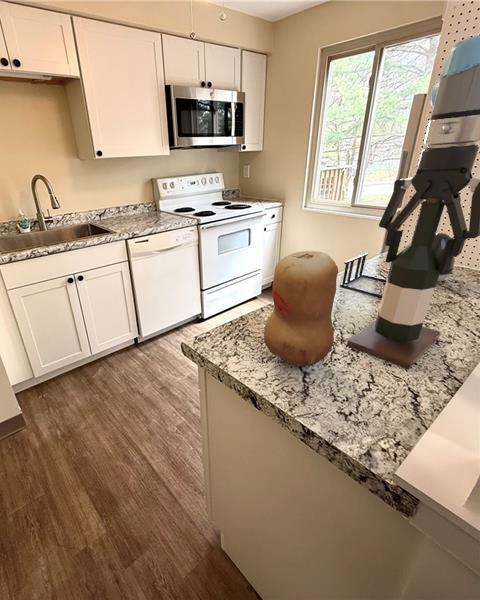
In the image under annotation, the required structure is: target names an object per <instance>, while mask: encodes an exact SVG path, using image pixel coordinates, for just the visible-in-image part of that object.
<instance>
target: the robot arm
mask: <svg viewBox="0 0 480 600" xmlns="http://www.w3.org/2000/svg"><path fill="white" fill-rule="evenodd" d="M430 104H431V107H432V111H431V115H430V120H429V121H428V122H429V123H428V126H427V130H426V134H425V139H424V142H423V145H424V146H427V147H426V148H423V149H422V150H421V152H420V157H419V161H418V164H417V169H416V172H415V174H414V175H413V176H412V177H410V178H409V177H408V178H406V177H404V178H399V179H396V180H395V181H394V182H393V192H392V194H391V197H390V199H389V201H388V203H387V206H386V208H385V210H384V212H383V214H382V216H381V219H380V220H379V223H378V226H379V228H381V229H382V228H383V229H384V230H386V231H387V234H386V238H385V241H384V246H386V247H388V249H387V250H388V251H387V254H386V257H385V263H389V264H391V262H392V259H393V258H395V257H396V256H397V255H398V252H399V248H400V244H401V240H402V238H403V237H402V236H403V232H404V230H400V229H401V228H402V226H403V224H405V222H406V221H407V220H408V218H410V217H411V215H412V214H413V213H414V212H415V210H416V209H418V207H419V206H420V205H421V204H422V202H423V201H426V200H427V199H428V198H437V200H441V201H444V204H445V205H444V207H446V211H447V215H448V219H449V223H450V227H451V230H452V231H451V232H452V236H453V237H451V238H450V239H448V241H447V244H446V247H445V250H444V253H443V256H442V259H441V262H440V265H439V268H438V272H439V273H443V272H445V271H447V270H448V268H449V266H450V263H451V260H452V257H453V256H454V257H455V258H456V257H458V256H460V255H461V254H462V251H463V249H464V246H465V243H466V240H469V239H476V238H478V237H480V178H475V177H474V176H473V174H472V170H473V167H474V164H475V161H476V158H477V156H478V152H479V148H480V146H479V145H478V144H477V142H480V34H477V35H474V36H470V37H469V38H465V39H462V40H460V41H458V42H457V43H455V44H454V45H452V47H451V48H450V50H449V51H448V54H447V56H446V59H445V61H444V64H443V68H442V71H441V73H440V76H439V79H438V81H437V82H436V83H435V84H434V86H433V87H432V90H431V93H430ZM411 185H412V186H413V189H414V190H415V193H414V194H413V195H412V196H411V198H410V199H409V200H408V203H406V205H405V206H404V207H403V209H401V211H400V212H399V213H398V215H397V216H396V217H395V215H396V213H397V211H398V209H399V207H400V205H401V203H402V201H403V198H404V197H405V194H406V192H407V190H408V189H409V188H410V187H411ZM468 186H469V187H470V192H472V196H471V204H470V214H469V226H468V227H467V224H466V219H465V214H464V211H463V206H462V203H461V200H462V199H461V194H460V192H461V191H462V190H463V189H465V188H466V187H468ZM394 217H395V218H394Z"/></svg>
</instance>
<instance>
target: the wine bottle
mask: <svg viewBox="0 0 480 600" xmlns="http://www.w3.org/2000/svg"><path fill="white" fill-rule="evenodd" d="M420 205H421V207H420V210H419V213H418V215H417V221H416V224H415V227H414V231H413V234H412V237H411V242H410V243H409V244H408V245H407V246H406V247H404V248H403V249H402V251H400V252H399V253H397V256H396V257H395V258H393V259H392V262H390V265H389V269H388V273H387V278H386V279H387V281H386V282H385V285H384V289H383V293H382V295H383V297H382V298H381V301H380V305H379V308H378V312H377V316H376V319H377V320H376V324H375V332H377V333H379V334H380V335H382V336H384V337H386V338H388V339H393V340H398V341H404V342H408V341H412V340H416V339H418V338H419V335H420V332H421V329H422V327H424V326H423V325H424V323H425V319H426V316H427V313H428V310H429V307H430V305H431V301H432V299H433V296H434V292H435V289H436V286H437V283H438V282H437V281H438V278H439V275H440V273H439V272H438V268H439V265H440V263H439V261H438V259H437V256H436V254H435V251H434V249H433V247H432V244H433V241H434V238H435V234H437V231H438V228H439V225H440V221H441V217H442V215H443V212H444V208H445V204H444V201H441V200H437V198H428V199H427V200H423V201H422V202H421V204H420Z"/></svg>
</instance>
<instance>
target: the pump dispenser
mask: <svg viewBox="0 0 480 600" xmlns="http://www.w3.org/2000/svg"><path fill="white" fill-rule="evenodd" d="M450 238H452V237H451V236H450V235H449V234H447V233H444V232H438V233H437V232H436V234H435V238H434V241H433V244H432V247H433V249H434V251H435V254H436V256H437V259H438V261H439V263H440V262H441V259H442V256H443V253H444V250H445V247H446V244H447V241H448V239H450ZM455 258H456V257H454V256H453V257H452V260H451V263H450V266H449V268H448V270H447V271H445V272H443V273H440V275H439V278H438V281H437V283H438V282H442V281H444V280H445V279H447V278H448V277H449V276H450V275H451V274H452V273H453V271H454V267H455V262H456V261H455V260H456V259H455Z"/></svg>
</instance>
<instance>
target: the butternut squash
mask: <svg viewBox="0 0 480 600" xmlns="http://www.w3.org/2000/svg"><path fill="white" fill-rule="evenodd" d="M273 272H274V273H273V280H272V291H271V294H272V295H271V296H272V300H273V305H274V307H273V310H272V312H271V314H270V315H269V317H268V318H267V321H266V323H265V325H264V330H263V341H264V344H265V346H266V347H267V349H268V350H269V351H270V352H271V353H272V354H273V355H275V356H277V357H278V358H280V359H281V360H283V361H285V362H286V363H288V364H290V365H296V366H301V367H303V366H306V367H311V366H314V365H316V364H318V363H319V362H321V361H322V360H323V359H325V358H327V356H328V354H330V353H331V352H332V350H333V346H334V342H335V339H334V338H335V331H334V326H333V320H332V314H333V308H334V302H335V297H336V293H337V279H338V275H339V267H338V265H337V264H336V261H334V259H333V257H331V255H329V254H328V253H326V252H322V251H318V250H302V251H301V250H300V251H297V252H292V253H290V254H288V255H286V256H284V257H283V258H281V259H280V260H279V261H278V262H277V263H276V265H275V266H274V271H273Z"/></svg>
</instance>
